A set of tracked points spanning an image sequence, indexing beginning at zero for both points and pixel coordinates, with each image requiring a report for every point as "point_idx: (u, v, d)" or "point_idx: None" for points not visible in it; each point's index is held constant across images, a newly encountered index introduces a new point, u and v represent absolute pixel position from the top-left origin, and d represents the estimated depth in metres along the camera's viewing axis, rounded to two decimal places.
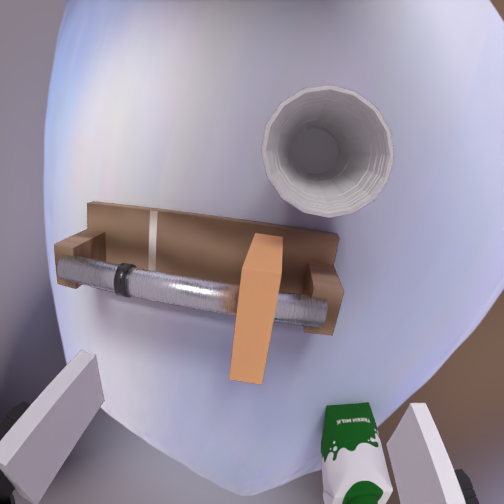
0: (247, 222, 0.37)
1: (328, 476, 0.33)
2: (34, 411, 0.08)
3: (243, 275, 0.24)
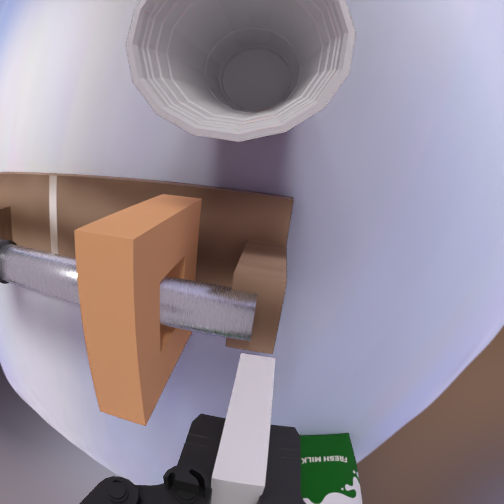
0: (160, 182, 0.25)
1: None
2: (235, 419, 0.09)
3: (77, 243, 0.12)
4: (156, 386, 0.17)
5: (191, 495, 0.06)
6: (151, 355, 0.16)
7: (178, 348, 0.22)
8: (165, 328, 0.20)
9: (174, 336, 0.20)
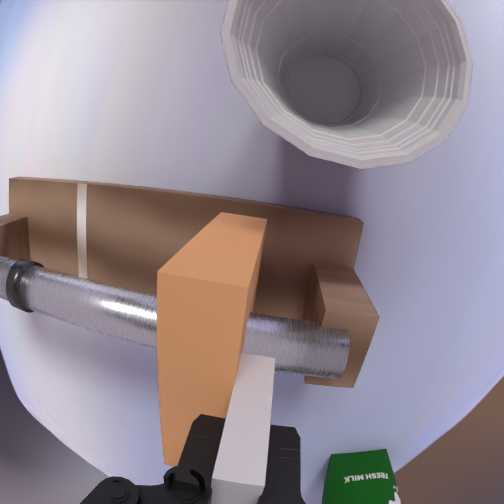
0: (216, 198, 0.23)
1: None
2: (235, 420, 0.09)
3: (161, 288, 0.10)
4: None
5: (191, 495, 0.06)
6: None
7: None
8: None
9: None
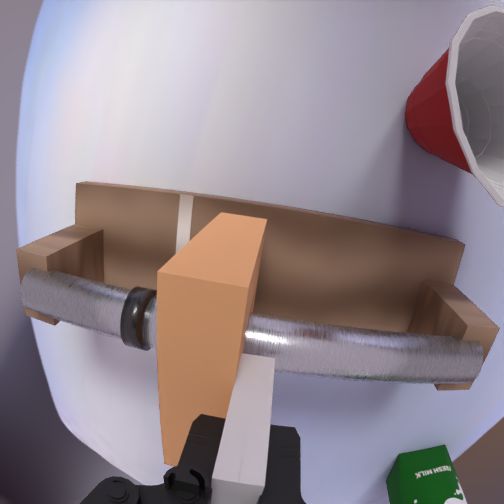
0: (343, 218, 0.22)
1: None
2: (235, 420, 0.09)
3: (161, 288, 0.10)
4: None
5: (191, 495, 0.06)
6: None
7: None
8: None
9: None
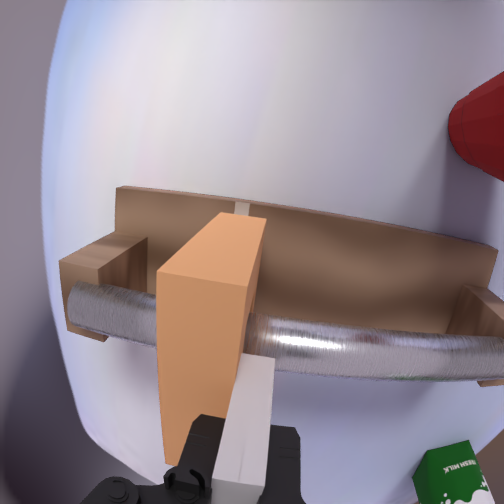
0: (394, 227, 0.22)
1: None
2: (235, 420, 0.09)
3: (160, 288, 0.10)
4: None
5: (191, 495, 0.06)
6: None
7: None
8: None
9: None
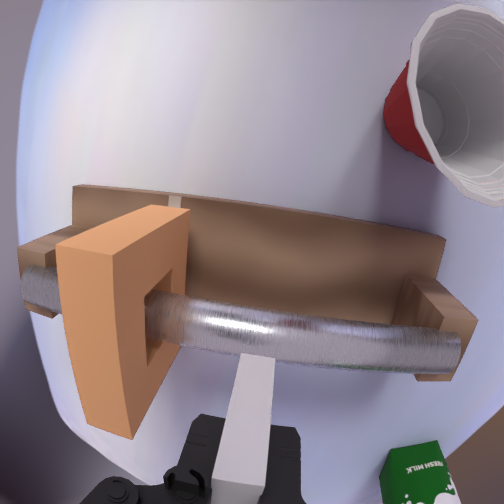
0: (323, 215, 0.24)
1: None
2: (235, 419, 0.09)
3: (58, 258, 0.12)
4: (143, 400, 0.16)
5: (191, 495, 0.06)
6: (137, 370, 0.15)
7: (167, 361, 0.21)
8: (153, 341, 0.19)
9: (162, 349, 0.20)
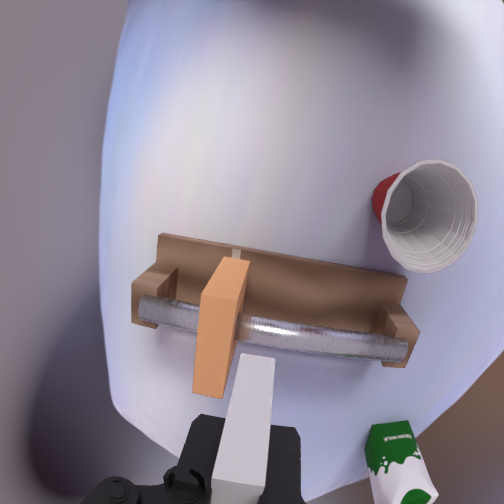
0: (329, 265, 0.38)
1: (381, 487, 0.34)
2: (235, 419, 0.09)
3: (202, 300, 0.26)
4: (227, 375, 0.31)
5: (191, 495, 0.06)
6: (229, 357, 0.29)
7: (233, 353, 0.35)
8: None
9: (233, 346, 0.34)
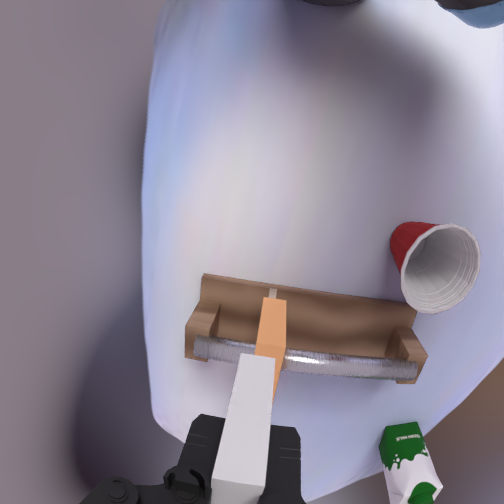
0: (352, 298, 0.43)
1: (395, 481, 0.39)
2: (235, 419, 0.09)
3: (257, 347, 0.31)
4: None
5: (191, 495, 0.06)
6: None
7: None
8: None
9: None
